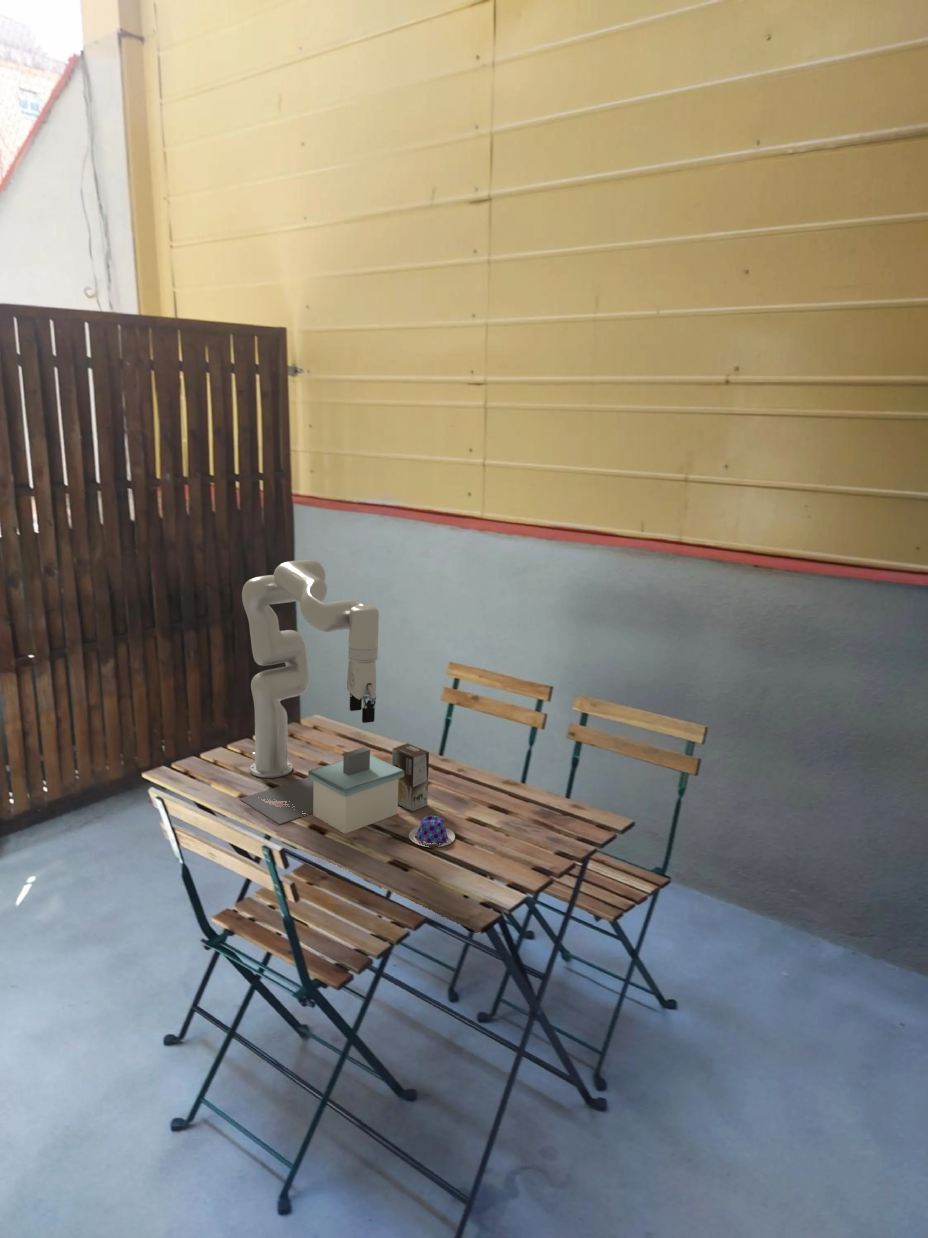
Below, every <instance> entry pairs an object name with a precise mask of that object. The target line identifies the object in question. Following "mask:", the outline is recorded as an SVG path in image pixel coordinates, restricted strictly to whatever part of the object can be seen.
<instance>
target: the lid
mask: <svg viewBox="0 0 928 1238" xmlns="http://www.w3.org/2000/svg"><path fill="white" fill-rule="evenodd" d="M307 772H308V773H307V776H308V777H309V778H311V779H313V780H315V781H316V782H318V783H320V784H322V785H324V786H326V787H328V788H329V789H331V790H333V791H335V792H337V793H339V794H340V795H342V796H344V797H346V796H349V795H352V794H355V793H358V792H361V791H364V790H367V789H369V788H372V787H375V786H378V785H381V784H384V783H387V782H390V781H393V780H396V779H399V778H402V777H404V770H402V769H400V768H397V767H395V766H393V765H392V763H389V762H387V761H384V760H382V759H380V758H378V757H376V756H374V755H372V754H371V749H369V748H367V747H360V748H357V749H353V750H350V751H346V752H344V753H343V760H339V761H336V762H333V763H330V764H327V765H323V766H320V767H316V768H313V769H310V770H308V771H307ZM308 777H307V778H308Z"/></svg>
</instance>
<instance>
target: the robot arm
mask: <svg viewBox="0 0 928 1238" xmlns="http://www.w3.org/2000/svg"><path fill="white" fill-rule="evenodd" d="M325 579H326V573H325V569H324V567H323V566H322V564H321V563H320V562H318V561H317V560H314V559H303V560H302V559H301V560H290V561H285V562H282V563H280V564H279V565H278V566H277V567H276V568H275V569H274V571H273V574H269V575H261V576H256V577H253V578H250V579H248V580H247V581H246V582H245V583H244V585H243V587H242V591H241V599H242V600H241V601H242V606H243V609H244V610H245V614H246V616H247V617H246V618H247V620H248V626H249V635H250V644H251V651H252V656H253V661H254V662H255V663H256V665H258V666H263V667H264V666H265V667H266V666H272V665H277V664H284V663H285V666H281V667H276V668H272V669H265V670H263V671H262V670H261V671H260V672H258V673H257V674H255V675H254V676H253V677H252V679H251V683H250V690H251V695H252V699H253V706H254V707H253V708H254V739H255V740H254V744H255V745H254V749H255V751H254V752H252V753H251V756H252V757H253V758H254V762H253V763H252V764H251V765H250V767H249V770H250V773H251V774H252V775H253V776H256V777H260V778H266V779H267V778H268V779H269V778H270V779H271V778H273V779H274V778H280V777H284V776H286V775H288V774H290V773H291V772H292V771H293V763H291V762H290V761H289V760H288V712H287V710H286V709H285V707H284V706H283V704H282V703H281V701H283V700H286V699H290V698H294V697H300V696H302V695H303V694H305V693H306V692H307V691H308V689H309V685H310V684H309V682H310V681H309V680H310V679H309V670H308V660H307V650H306V645H305V642H304V641H305V640H304V639H303V637H302V635H301V634H300V633H299V632H298V631H296V630H292V629H286V630H280V624H279V618H278V615H277V614H276V612H275V610H273V608H272V607H271V606H270V605H277V604H278V605H279V604H285V603H293V602H297V601H298V602H299V608H300V612H301V614H302V617H303V619H304V620H305V621H306V622H307V623H308V624H309V625H311V626H312V627H314V628H316V629H317V630H319V631H321V632H324V633H331V632H336V631H342V630H343V631H344V630H348V656H347V657H348V667H347V681H346V689H347V691H348V692H349V711H350V712H357V711H361V722H362V723H363V724H366V723H367V724H368V723H374V722H375V717H376V716H375V715H376V714H375V711H376V703H377V702H376V699H377V695H376V694H377V667H376V661H377V660H378V659H379V657H378V656H379V655H378V653H379V652H378V651H379V625H380V623H379V620H380V619H379V614H380V613H379V609H378V608H377V607H375V606H373V605H367V604H364V603H363V602H361V601H360V600H359V599H347V600H337V601H332V602H330V601H329V602H323V601H324V600H325V598H326V597H327V591H328V587H327V585H326V583H325ZM362 705H363V707H362Z"/></svg>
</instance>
